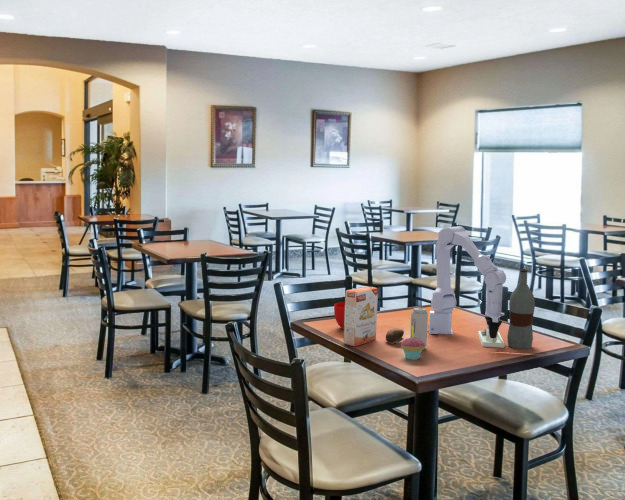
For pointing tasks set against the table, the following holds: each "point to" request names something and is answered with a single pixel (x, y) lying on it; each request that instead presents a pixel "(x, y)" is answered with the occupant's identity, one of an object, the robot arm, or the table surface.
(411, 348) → the cupcake
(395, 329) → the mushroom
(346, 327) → the cracker box
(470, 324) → the table surface
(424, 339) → the energy drink can
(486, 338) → the shaker
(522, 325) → the bottle
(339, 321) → the ceramic cup
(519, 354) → the table surface
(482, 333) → the tray
